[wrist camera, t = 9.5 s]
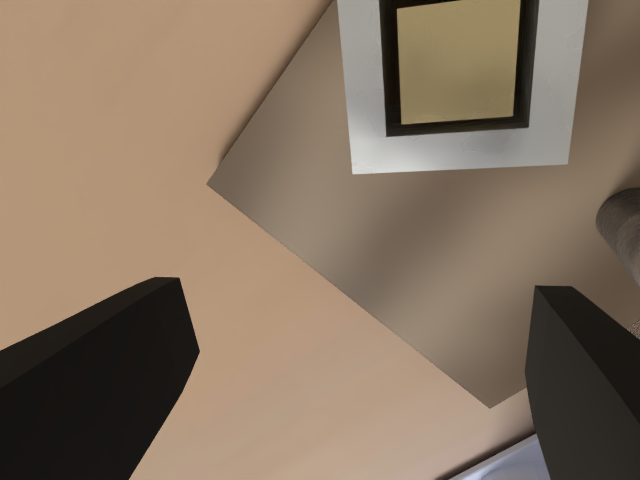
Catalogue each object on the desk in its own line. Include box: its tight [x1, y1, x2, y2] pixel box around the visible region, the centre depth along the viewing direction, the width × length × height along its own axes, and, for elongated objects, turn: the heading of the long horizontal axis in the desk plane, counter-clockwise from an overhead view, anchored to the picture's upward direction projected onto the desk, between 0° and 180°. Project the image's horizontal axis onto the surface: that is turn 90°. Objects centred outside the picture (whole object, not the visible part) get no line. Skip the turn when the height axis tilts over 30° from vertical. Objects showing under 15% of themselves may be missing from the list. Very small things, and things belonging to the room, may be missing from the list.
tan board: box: [207, 0, 640, 408], centre depth 14 cm, size 15×18×1 cm
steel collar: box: [337, 0, 588, 174], centre depth 12 cm, size 5×5×4 cm
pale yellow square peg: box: [397, 0, 520, 124], centre depth 12 cm, size 2×2×4 cm
